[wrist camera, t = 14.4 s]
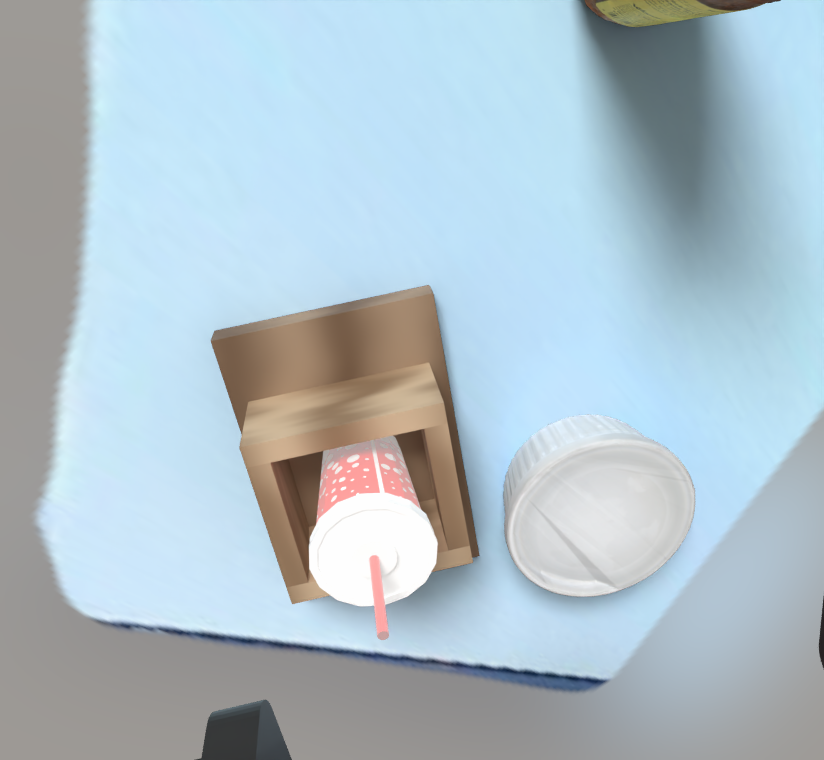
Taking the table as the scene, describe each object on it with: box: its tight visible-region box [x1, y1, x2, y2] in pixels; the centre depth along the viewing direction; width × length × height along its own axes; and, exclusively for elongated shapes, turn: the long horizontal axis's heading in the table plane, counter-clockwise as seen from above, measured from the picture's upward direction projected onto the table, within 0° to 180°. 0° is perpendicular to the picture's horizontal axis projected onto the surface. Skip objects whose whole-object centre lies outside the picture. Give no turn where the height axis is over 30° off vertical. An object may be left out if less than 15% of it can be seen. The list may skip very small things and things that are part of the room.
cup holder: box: [211, 285, 479, 604], centre depth 40 cm, size 12×18×6 cm, turn 10°
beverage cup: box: [309, 436, 438, 640], centre depth 35 cm, size 6×6×14 cm
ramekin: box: [503, 414, 695, 597], centre depth 43 cm, size 11×11×5 cm
